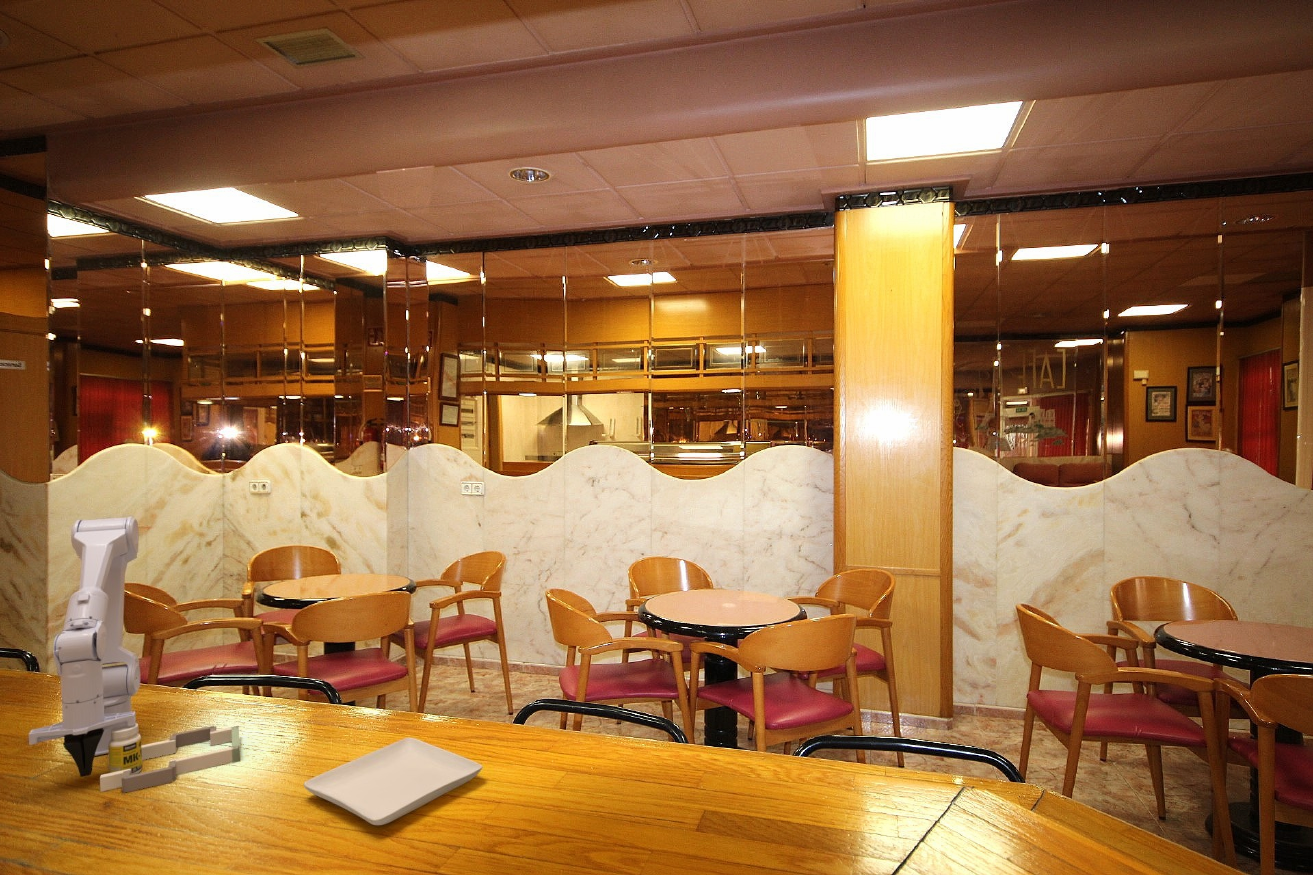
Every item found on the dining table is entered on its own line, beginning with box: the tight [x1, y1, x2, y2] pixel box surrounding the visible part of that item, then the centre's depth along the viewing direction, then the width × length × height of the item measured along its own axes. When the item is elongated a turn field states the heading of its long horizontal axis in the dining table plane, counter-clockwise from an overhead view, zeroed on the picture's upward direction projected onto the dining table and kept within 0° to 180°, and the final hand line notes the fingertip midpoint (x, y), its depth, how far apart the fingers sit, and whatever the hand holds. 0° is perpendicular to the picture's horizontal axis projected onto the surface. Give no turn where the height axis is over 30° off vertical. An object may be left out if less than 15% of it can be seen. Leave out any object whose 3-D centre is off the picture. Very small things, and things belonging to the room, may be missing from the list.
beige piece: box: [99, 725, 241, 794], centre depth 134 cm, size 17×21×2 cm
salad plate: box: [303, 737, 484, 826], centre depth 123 cm, size 21×21×3 cm
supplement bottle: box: [108, 722, 143, 775], centre depth 130 cm, size 5×5×8 cm
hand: (86, 773), depth 128 cm, fingers closed
